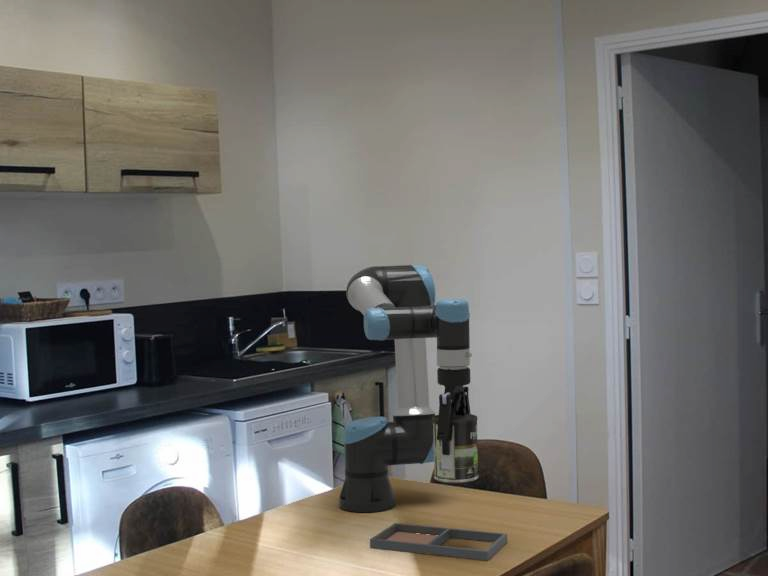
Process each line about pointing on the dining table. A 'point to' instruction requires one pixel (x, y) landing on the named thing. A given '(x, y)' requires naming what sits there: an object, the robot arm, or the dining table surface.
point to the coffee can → (458, 450)
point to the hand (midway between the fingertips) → (455, 463)
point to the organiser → (436, 540)
